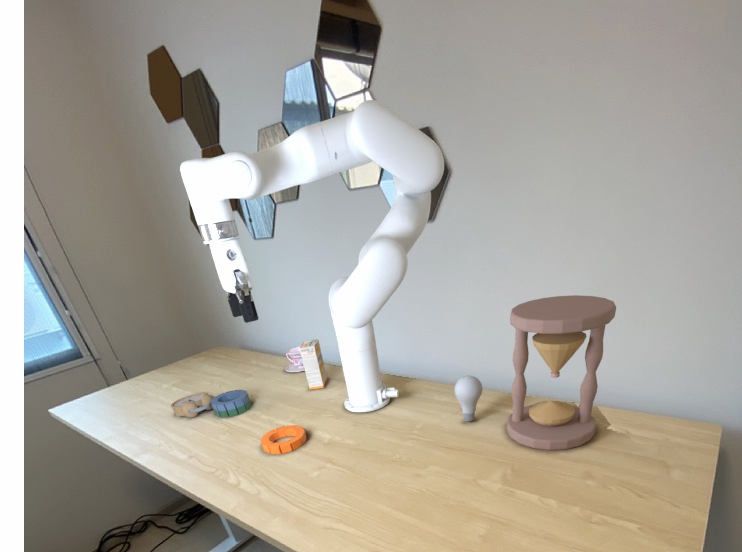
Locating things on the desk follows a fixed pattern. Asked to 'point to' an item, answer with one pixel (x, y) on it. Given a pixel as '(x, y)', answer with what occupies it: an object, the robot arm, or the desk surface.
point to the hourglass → (557, 367)
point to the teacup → (294, 360)
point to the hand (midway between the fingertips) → (245, 318)
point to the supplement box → (313, 364)
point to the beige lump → (192, 405)
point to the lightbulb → (468, 395)
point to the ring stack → (231, 403)
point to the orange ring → (286, 445)
